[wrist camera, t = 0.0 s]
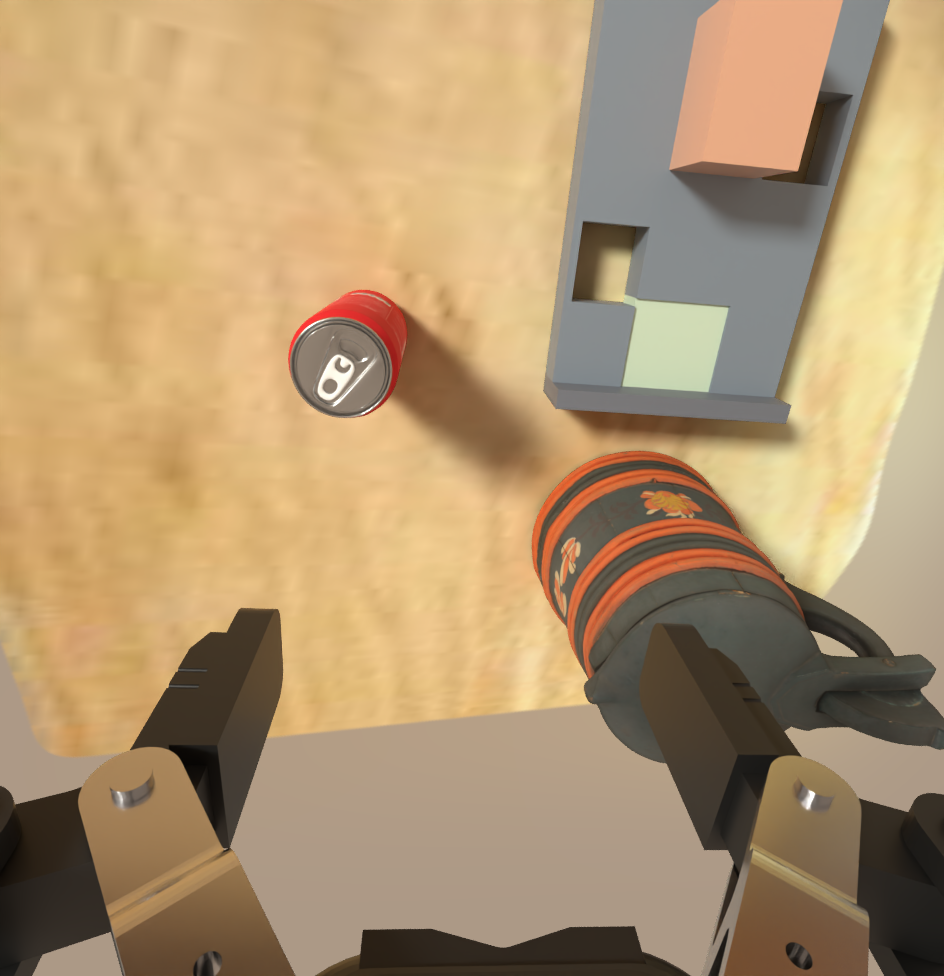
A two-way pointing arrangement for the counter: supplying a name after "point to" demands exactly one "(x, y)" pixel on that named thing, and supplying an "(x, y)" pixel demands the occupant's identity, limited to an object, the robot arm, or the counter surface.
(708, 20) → the terracotta block
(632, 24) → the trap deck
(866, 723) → the beer stein
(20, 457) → the counter surface
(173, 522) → the counter surface
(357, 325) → the beverage can
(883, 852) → the robot arm
